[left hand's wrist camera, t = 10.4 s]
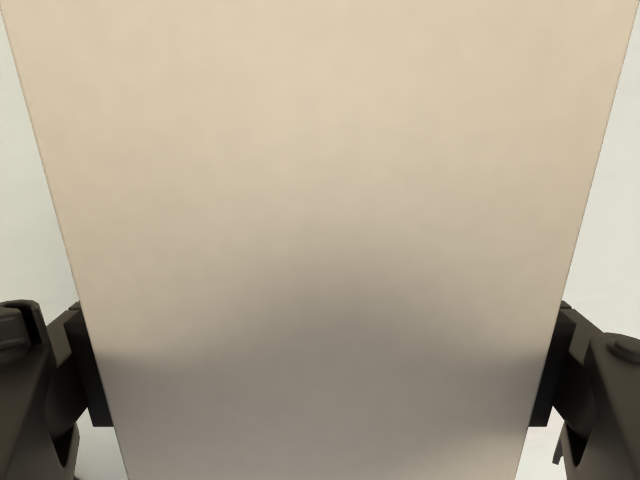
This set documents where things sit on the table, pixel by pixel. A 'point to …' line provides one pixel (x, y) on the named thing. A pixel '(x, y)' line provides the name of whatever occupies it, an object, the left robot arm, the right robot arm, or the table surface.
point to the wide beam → (319, 220)
